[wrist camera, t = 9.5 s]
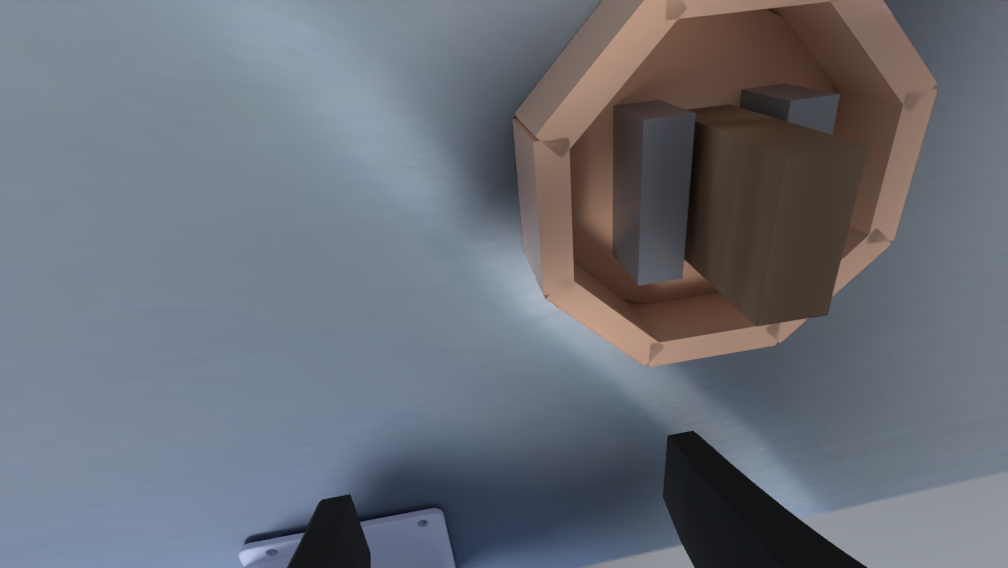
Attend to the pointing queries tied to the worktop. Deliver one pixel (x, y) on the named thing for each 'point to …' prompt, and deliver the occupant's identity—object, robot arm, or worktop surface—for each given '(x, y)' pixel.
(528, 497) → the worktop surface
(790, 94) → the tan octagonal tray
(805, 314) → the brown rectangular block
